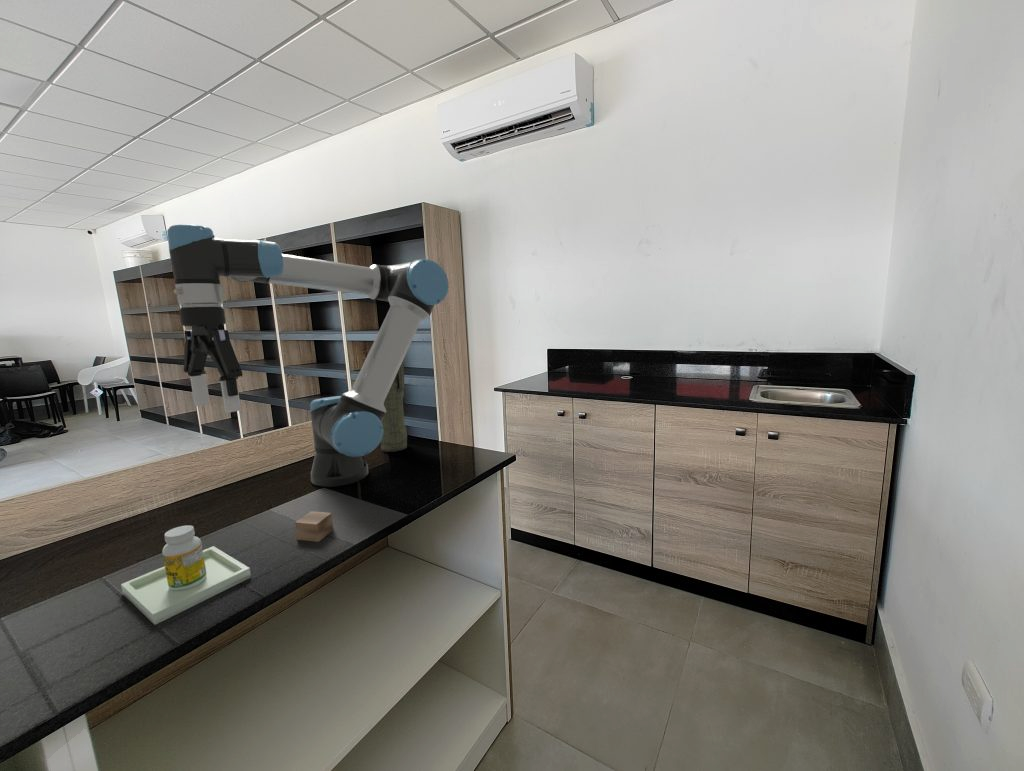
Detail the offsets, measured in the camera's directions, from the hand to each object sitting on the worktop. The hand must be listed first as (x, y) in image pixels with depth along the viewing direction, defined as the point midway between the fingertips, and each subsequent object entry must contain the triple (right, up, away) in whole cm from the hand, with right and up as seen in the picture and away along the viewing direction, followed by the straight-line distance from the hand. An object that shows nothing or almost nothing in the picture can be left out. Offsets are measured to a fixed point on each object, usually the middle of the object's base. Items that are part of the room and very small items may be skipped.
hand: (217, 408), depth 93 cm
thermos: (+22, -17, +57) cm, 63 cm away
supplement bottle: (+6, -29, -17) cm, 34 cm away
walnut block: (+21, -27, 0) cm, 34 cm away
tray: (+6, -30, -17) cm, 35 cm away
